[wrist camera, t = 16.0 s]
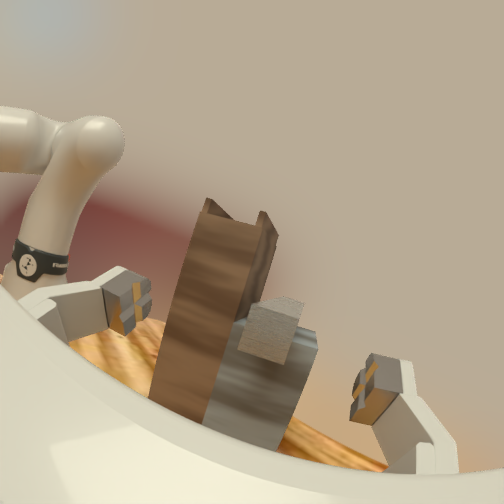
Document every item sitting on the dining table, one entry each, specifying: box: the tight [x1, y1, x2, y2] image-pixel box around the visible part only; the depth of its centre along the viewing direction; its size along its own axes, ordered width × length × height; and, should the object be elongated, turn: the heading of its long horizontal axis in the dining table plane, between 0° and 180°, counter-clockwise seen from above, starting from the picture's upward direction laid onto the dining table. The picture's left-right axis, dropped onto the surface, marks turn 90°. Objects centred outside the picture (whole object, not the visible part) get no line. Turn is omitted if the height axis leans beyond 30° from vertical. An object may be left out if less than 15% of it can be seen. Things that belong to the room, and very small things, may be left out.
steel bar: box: [237, 297, 304, 365], centre depth 27 cm, size 22×3×3 cm, turn 168°
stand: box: [148, 198, 318, 452], centre depth 30 cm, size 11×14×28 cm
